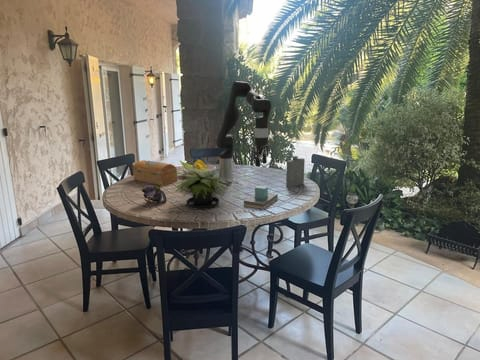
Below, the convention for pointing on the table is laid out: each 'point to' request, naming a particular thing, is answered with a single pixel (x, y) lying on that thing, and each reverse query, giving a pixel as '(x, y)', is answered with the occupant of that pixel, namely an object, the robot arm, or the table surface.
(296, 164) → the hip flask
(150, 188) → the dark grey rounded piece
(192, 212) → the table surface
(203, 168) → the fruit bowl
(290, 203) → the table surface
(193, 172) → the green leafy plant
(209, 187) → the fern plant
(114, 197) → the table surface
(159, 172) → the wooden box
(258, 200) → the block
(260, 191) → the plug
